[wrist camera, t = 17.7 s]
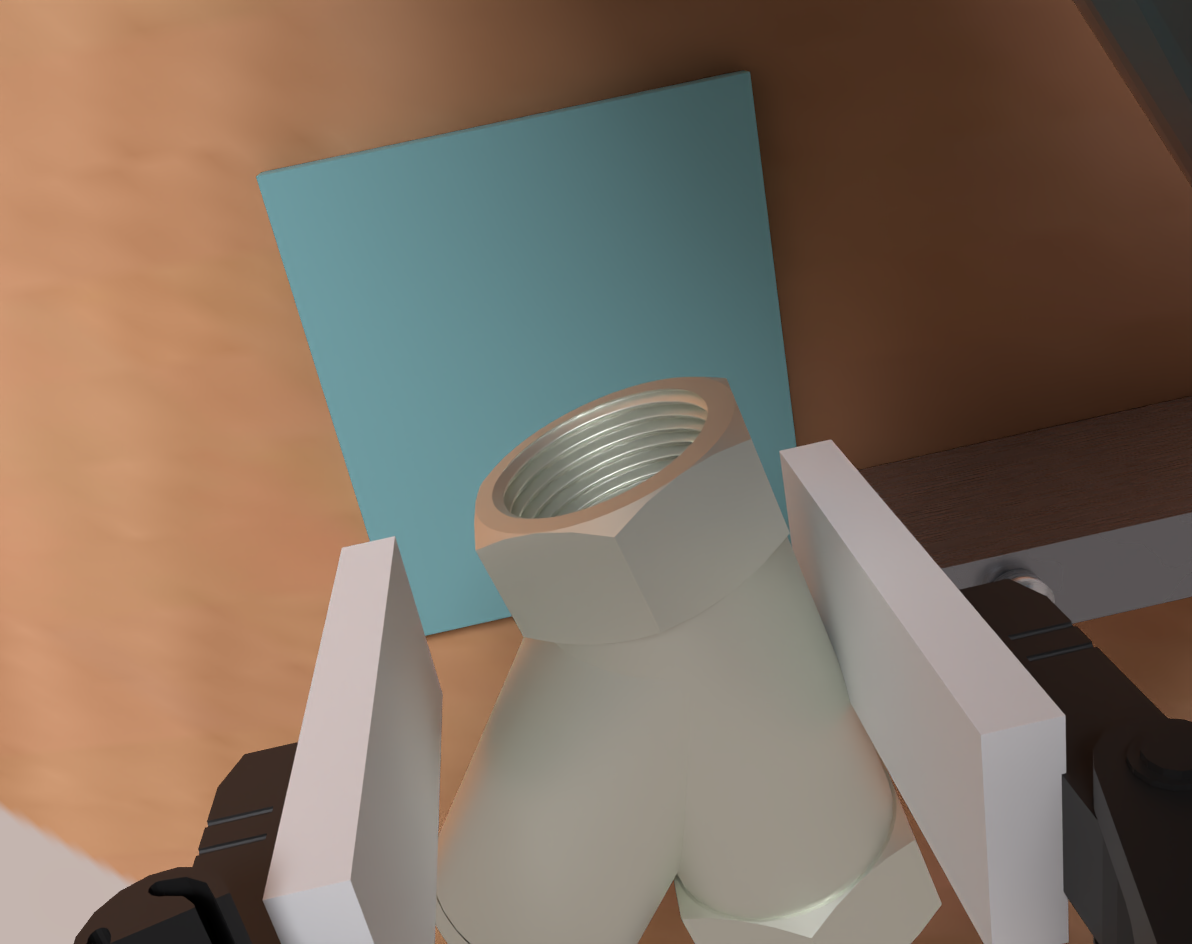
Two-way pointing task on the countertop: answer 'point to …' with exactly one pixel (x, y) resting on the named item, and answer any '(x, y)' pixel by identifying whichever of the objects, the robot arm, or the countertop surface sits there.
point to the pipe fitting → (666, 704)
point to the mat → (527, 299)
